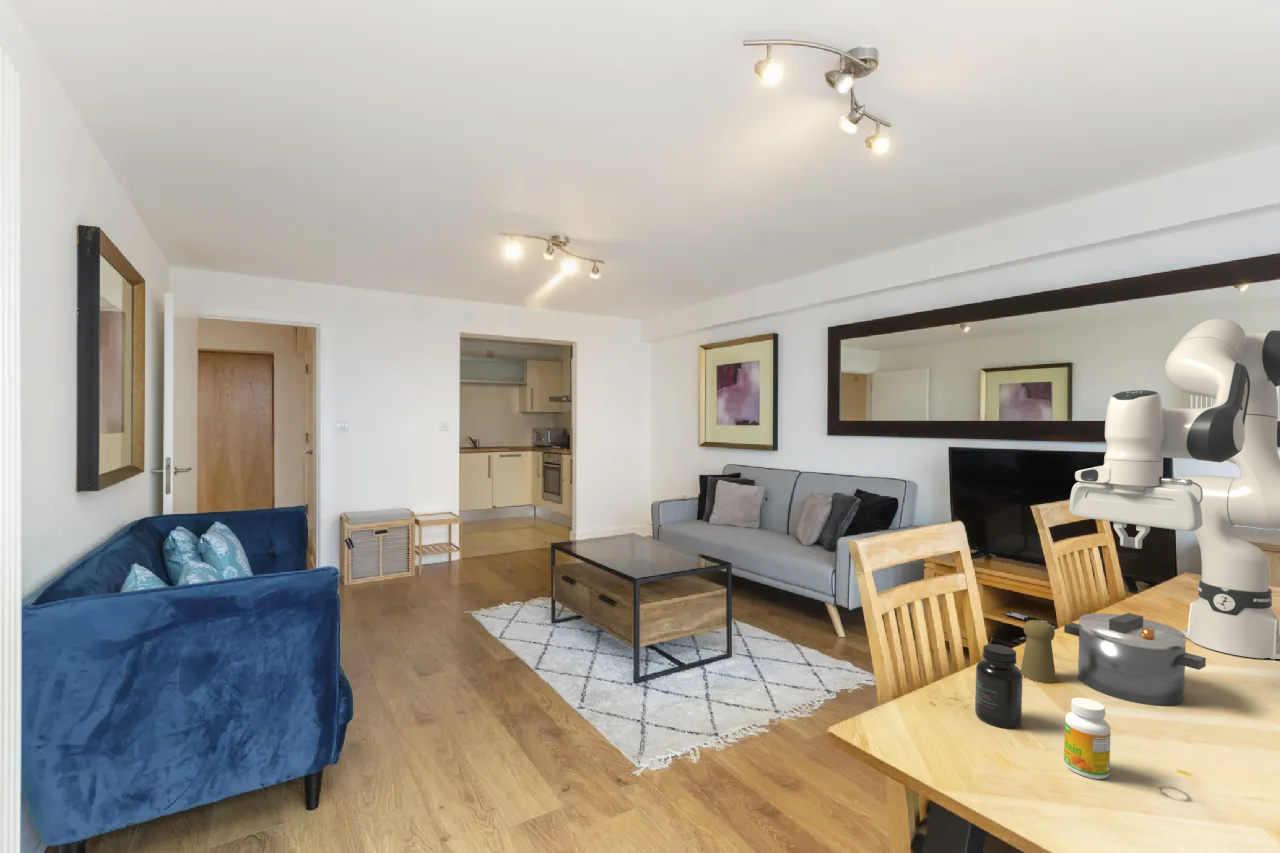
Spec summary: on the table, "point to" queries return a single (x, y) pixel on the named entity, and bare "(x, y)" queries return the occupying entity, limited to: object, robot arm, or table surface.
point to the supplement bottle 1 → (998, 687)
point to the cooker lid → (1132, 631)
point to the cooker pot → (1133, 669)
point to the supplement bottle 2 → (1087, 739)
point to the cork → (1038, 652)
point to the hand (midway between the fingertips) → (1131, 547)
